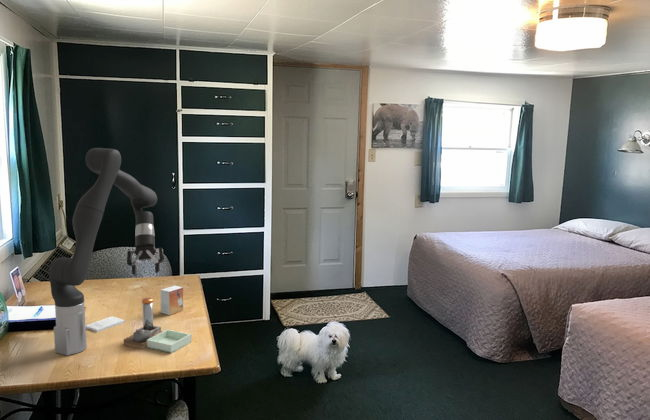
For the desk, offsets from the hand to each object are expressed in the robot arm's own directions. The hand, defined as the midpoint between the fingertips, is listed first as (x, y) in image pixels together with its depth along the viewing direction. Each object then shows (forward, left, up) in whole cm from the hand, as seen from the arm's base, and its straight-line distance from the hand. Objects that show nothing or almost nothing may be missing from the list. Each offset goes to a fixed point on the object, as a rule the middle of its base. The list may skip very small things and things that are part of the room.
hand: (146, 274), depth 206 cm
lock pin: (-13, -12, -18) cm, 25 cm away
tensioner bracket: (-16, -13, -20) cm, 29 cm away
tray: (-15, -24, -20) cm, 34 cm away
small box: (+13, -2, -20) cm, 24 cm away
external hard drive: (-11, +12, -21) cm, 26 cm away
